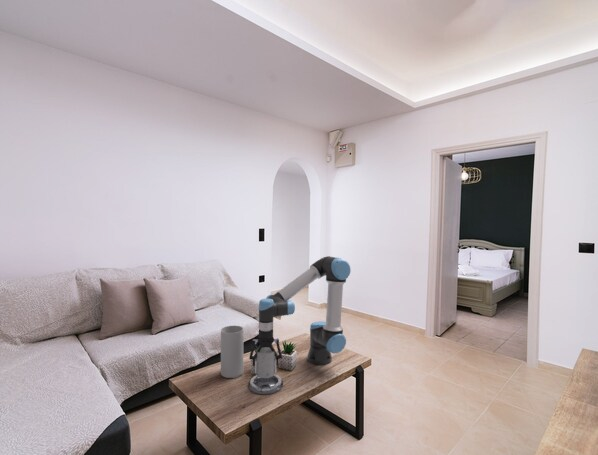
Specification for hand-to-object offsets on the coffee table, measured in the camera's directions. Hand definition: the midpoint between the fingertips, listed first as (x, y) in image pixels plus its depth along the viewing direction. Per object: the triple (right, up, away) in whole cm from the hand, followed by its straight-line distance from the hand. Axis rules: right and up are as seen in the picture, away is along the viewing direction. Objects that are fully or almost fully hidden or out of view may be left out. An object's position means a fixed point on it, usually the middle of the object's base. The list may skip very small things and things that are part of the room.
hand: (265, 371), depth 165 cm
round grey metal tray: (0, -7, 0) cm, 7 cm away
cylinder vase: (-20, -7, +13) cm, 25 cm away
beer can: (0, -1, 0) cm, 1 cm away
